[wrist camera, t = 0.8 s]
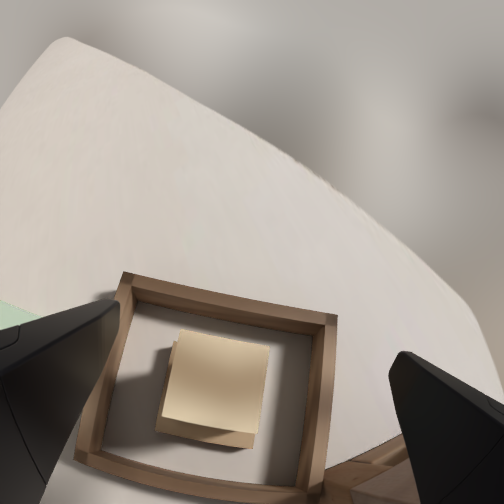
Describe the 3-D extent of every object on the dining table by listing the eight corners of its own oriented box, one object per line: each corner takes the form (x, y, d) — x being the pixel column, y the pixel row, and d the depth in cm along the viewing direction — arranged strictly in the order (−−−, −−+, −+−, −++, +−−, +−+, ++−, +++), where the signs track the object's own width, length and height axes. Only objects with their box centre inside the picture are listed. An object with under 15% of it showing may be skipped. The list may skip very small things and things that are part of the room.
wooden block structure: (308, 475, 20) (488, 516, 4) (413, 425, 22) (588, 376, 7) (319, 511, 18) (491, 578, 3) (422, 458, 21) (596, 431, 6)
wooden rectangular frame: (305, 497, 18) (318, 505, 16) (87, 456, 18) (73, 459, 15) (324, 326, 26) (337, 314, 24) (130, 287, 26) (123, 271, 23)
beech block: (237, 430, 20) (257, 433, 13) (174, 418, 19) (161, 415, 13) (246, 372, 22) (269, 346, 15) (186, 360, 22) (180, 328, 15)
